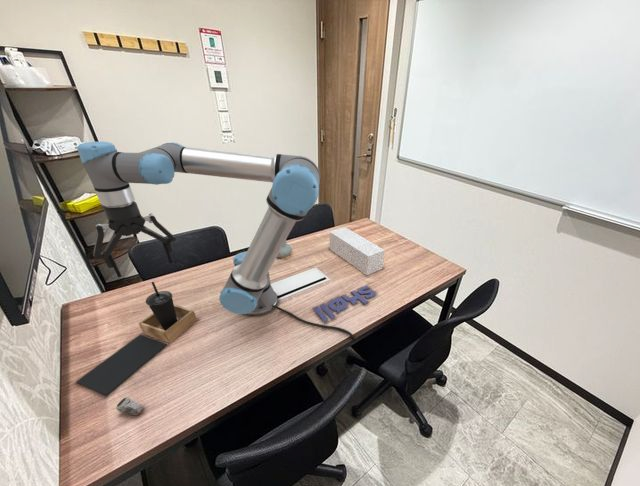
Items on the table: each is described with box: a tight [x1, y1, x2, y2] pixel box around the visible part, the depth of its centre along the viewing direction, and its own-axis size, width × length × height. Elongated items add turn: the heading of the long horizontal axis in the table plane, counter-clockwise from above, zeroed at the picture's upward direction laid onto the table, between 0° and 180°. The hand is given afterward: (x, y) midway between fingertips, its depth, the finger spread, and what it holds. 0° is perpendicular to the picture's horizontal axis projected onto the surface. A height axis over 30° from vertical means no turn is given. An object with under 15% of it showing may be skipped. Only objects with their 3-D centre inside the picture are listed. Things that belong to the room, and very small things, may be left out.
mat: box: [76, 334, 168, 397], centre depth 89 cm, size 12×20×1 cm, turn 161°
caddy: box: [138, 304, 198, 344], centre depth 102 cm, size 12×12×5 cm
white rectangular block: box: [329, 226, 386, 276], centre depth 148 cm, size 32×11×11 cm, turn 39°
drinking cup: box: [145, 281, 179, 331], centre depth 98 cm, size 8×8×20 cm
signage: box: [312, 285, 376, 323], centre depth 119 cm, size 28×1×10 cm
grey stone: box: [115, 396, 144, 416], centre depth 75 cm, size 4×6×5 cm, turn 85°
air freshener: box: [276, 240, 293, 259], centre depth 147 cm, size 11×8×10 cm
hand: (146, 268), depth 89 cm, fingers open, 13 cm apart
